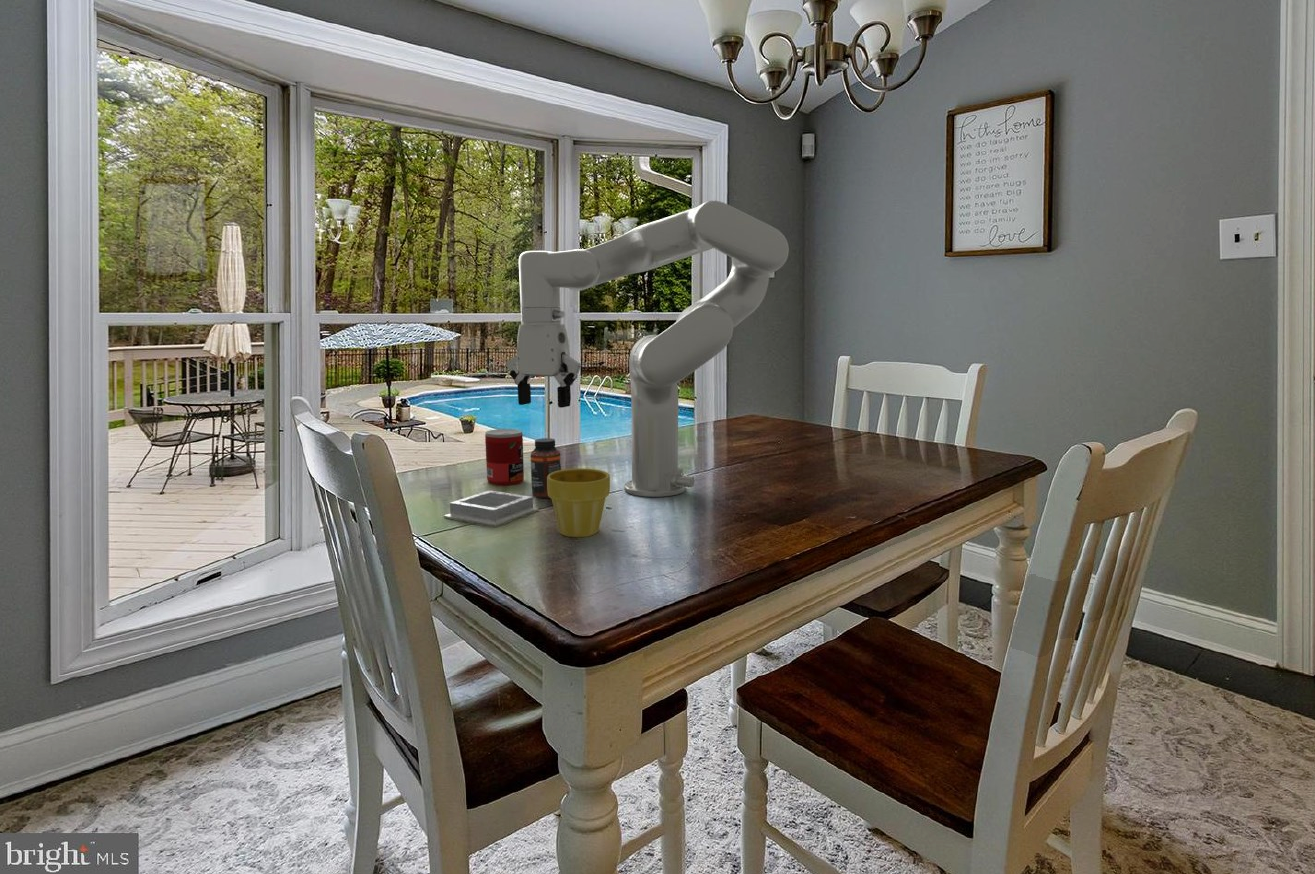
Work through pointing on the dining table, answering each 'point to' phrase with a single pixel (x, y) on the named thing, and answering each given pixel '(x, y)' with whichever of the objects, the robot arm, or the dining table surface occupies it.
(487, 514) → the holder
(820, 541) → the dining table surface
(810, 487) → the dining table surface
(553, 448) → the supplement bottle
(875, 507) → the dining table surface
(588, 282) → the robot arm
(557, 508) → the plant pot
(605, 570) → the dining table surface
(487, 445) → the canned food
